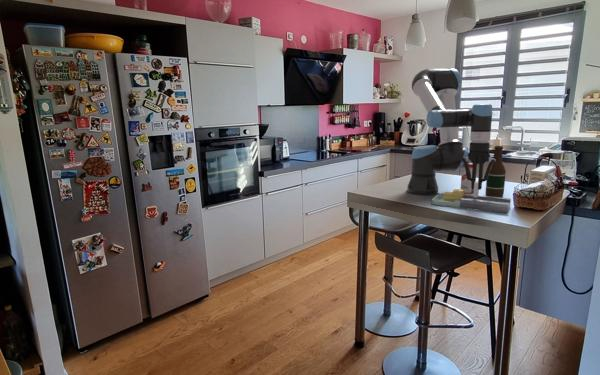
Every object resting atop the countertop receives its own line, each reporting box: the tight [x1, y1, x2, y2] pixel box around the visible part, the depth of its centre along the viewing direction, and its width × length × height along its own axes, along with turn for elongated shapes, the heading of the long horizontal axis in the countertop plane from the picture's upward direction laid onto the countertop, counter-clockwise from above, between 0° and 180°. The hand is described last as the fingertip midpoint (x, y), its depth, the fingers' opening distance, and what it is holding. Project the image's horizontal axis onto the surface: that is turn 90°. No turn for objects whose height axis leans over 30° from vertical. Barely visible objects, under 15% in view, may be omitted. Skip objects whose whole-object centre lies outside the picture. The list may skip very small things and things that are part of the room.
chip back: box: [443, 191, 455, 202], centre depth 163 cm, size 4×4×4 cm
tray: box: [430, 193, 461, 209], centre depth 163 cm, size 12×12×2 cm
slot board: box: [460, 194, 512, 214], centre depth 155 cm, size 18×11×4 cm, turn 56°
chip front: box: [452, 188, 464, 200], centre depth 160 cm, size 4×4×4 cm
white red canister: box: [460, 161, 474, 195], centre depth 172 cm, size 6×6×16 cm
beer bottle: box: [484, 145, 507, 198], centre depth 169 cm, size 8×8×24 cm
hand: (475, 196), depth 156 cm, fingers closed
